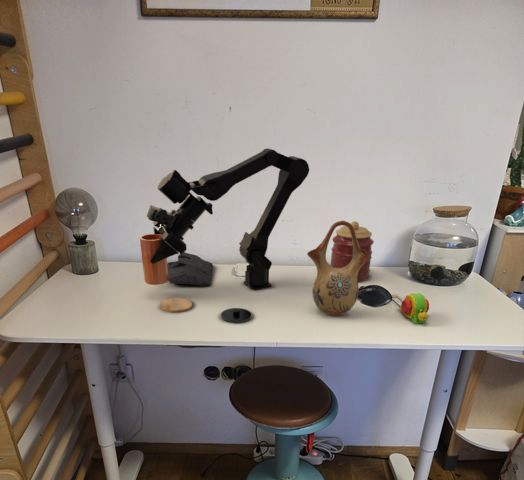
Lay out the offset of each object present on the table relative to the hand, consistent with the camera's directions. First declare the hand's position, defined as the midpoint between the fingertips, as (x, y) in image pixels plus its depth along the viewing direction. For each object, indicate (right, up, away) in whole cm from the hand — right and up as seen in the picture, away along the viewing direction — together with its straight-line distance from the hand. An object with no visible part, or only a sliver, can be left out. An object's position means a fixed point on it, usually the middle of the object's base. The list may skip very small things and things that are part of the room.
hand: (149, 258), depth 128 cm
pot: (+1, -6, +4) cm, 7 cm away
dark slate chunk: (+7, -1, +22) cm, 23 cm away
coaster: (+7, -13, 0) cm, 15 cm away
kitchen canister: (+60, -1, +25) cm, 65 cm away
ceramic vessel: (+50, -15, -2) cm, 53 cm away
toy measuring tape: (+71, -15, +1) cm, 73 cm away
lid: (+24, -16, -5) cm, 30 cm away
